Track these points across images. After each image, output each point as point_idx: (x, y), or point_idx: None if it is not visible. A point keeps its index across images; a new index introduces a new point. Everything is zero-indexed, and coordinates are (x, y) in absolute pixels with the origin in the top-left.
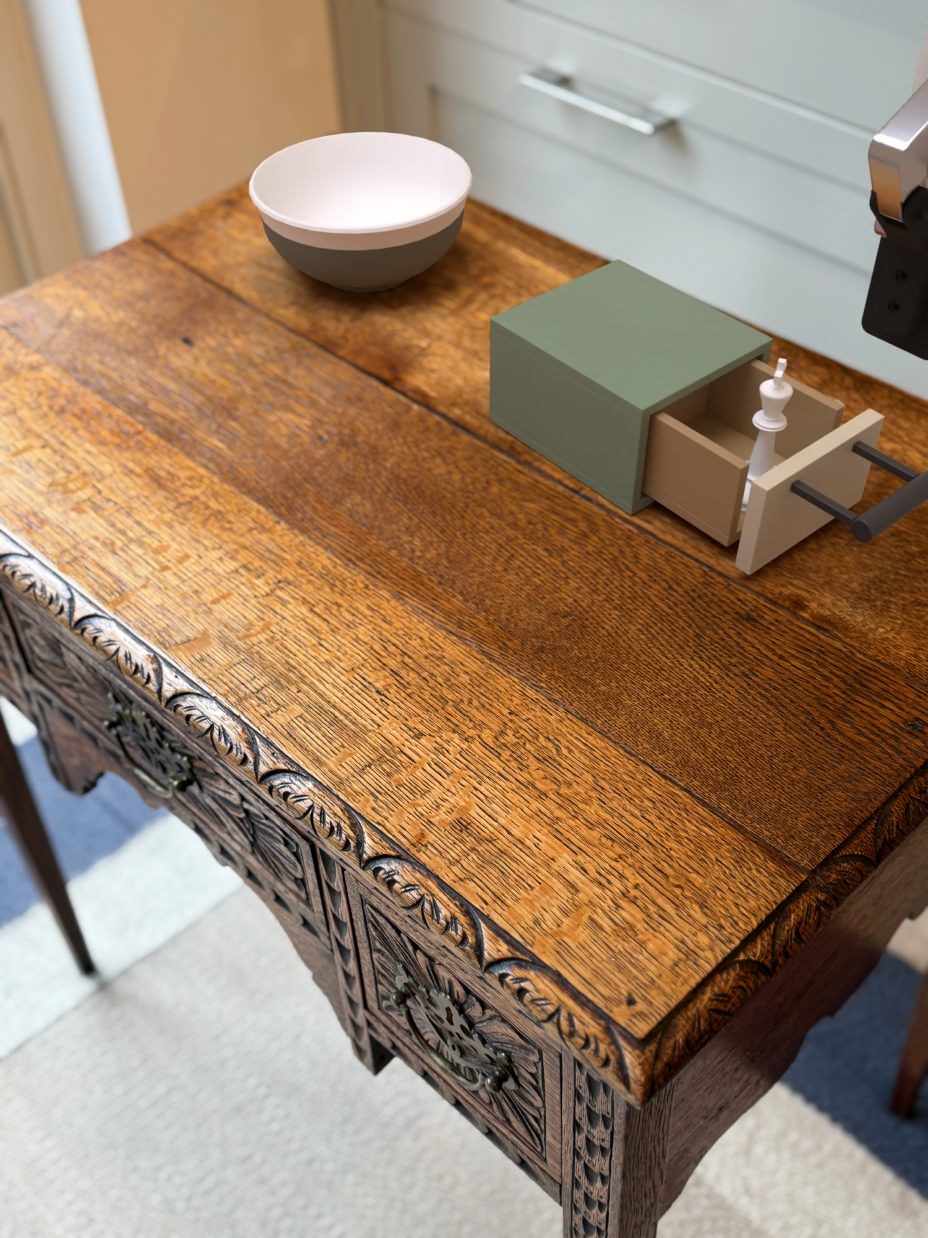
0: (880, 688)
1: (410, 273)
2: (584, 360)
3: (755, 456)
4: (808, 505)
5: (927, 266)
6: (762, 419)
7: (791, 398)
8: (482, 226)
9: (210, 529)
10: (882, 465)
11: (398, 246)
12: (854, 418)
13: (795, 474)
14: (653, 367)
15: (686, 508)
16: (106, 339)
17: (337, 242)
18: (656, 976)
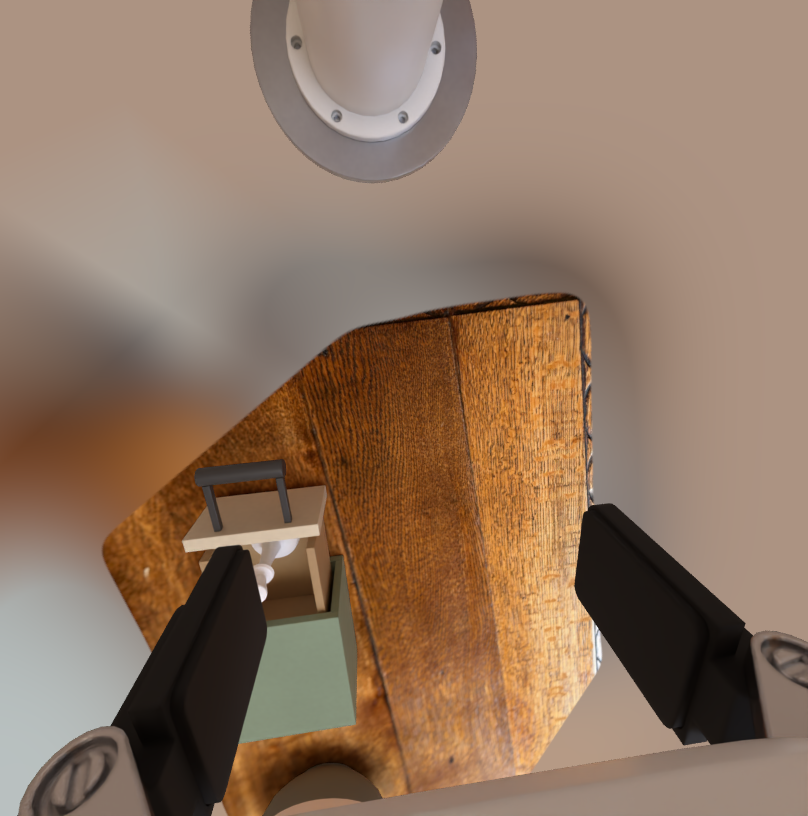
0: (319, 382)
1: (325, 771)
2: (334, 669)
3: (275, 554)
4: (270, 506)
5: (751, 635)
6: (268, 576)
7: None
8: (237, 793)
9: (526, 640)
10: (216, 506)
11: (335, 797)
12: (205, 549)
13: (287, 526)
14: (299, 646)
15: (325, 542)
16: (483, 774)
17: None
18: (549, 319)
